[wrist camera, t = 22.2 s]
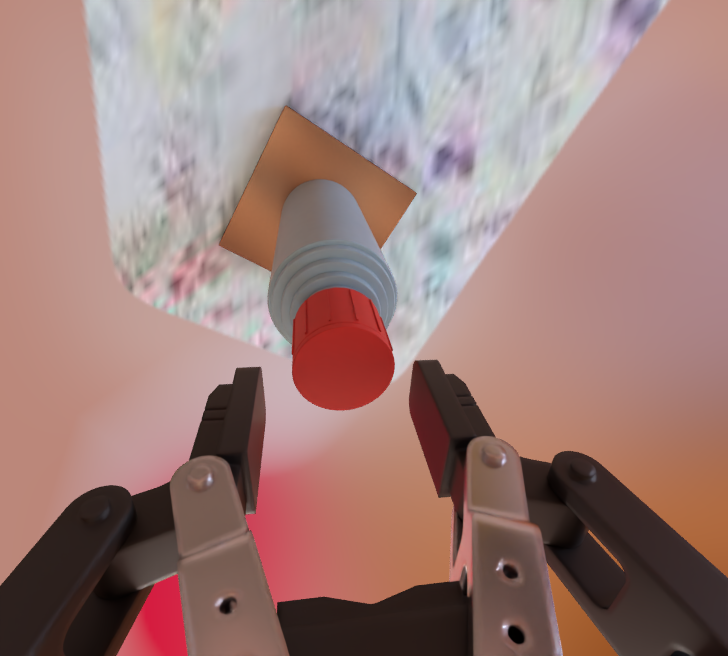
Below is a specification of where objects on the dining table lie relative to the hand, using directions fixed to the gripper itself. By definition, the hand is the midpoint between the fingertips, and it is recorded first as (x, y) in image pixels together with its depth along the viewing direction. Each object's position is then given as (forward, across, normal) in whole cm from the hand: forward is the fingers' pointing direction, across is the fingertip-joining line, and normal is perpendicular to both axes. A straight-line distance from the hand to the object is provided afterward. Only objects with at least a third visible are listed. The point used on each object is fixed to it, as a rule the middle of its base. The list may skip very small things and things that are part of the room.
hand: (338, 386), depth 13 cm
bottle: (+20, 0, 0) cm, 20 cm away
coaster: (+21, 0, 0) cm, 21 cm away
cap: (+4, 0, 0) cm, 4 cm away
